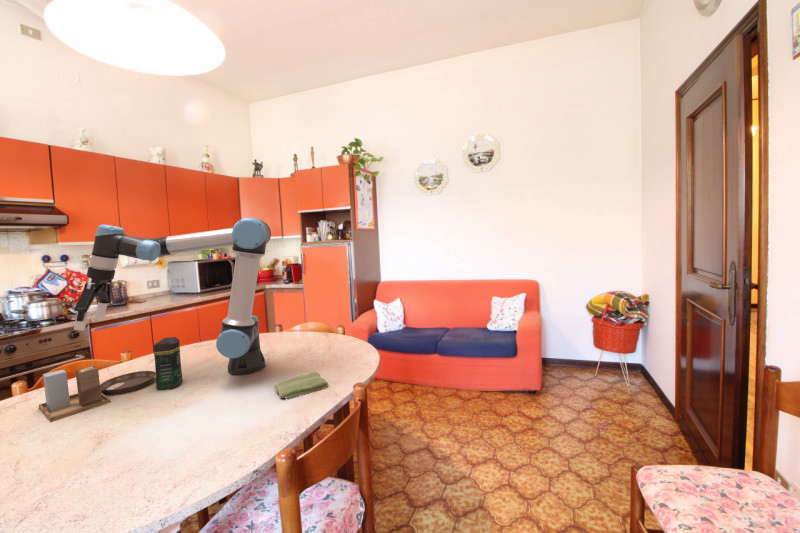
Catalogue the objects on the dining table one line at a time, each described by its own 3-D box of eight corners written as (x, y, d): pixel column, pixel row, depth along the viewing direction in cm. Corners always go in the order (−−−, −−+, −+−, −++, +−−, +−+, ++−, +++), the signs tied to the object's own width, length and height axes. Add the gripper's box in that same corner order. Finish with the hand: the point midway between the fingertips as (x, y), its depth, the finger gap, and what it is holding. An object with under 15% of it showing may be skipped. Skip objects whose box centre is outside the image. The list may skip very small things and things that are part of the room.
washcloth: (272, 389, 129) (271, 381, 129) (318, 377, 139) (317, 369, 138) (281, 402, 118) (280, 393, 118) (330, 389, 128) (329, 380, 127)
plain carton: (70, 405, 120) (66, 371, 119) (50, 411, 116) (45, 377, 115) (66, 402, 122) (62, 369, 121) (47, 408, 118) (42, 374, 117)
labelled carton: (101, 401, 122) (98, 367, 121) (83, 407, 118) (79, 372, 117) (97, 398, 125) (94, 365, 124) (79, 404, 121) (75, 370, 119)
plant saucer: (87, 399, 125) (86, 391, 125) (118, 379, 143) (117, 372, 142) (140, 394, 128) (140, 386, 128) (165, 375, 145) (164, 368, 145)
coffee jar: (178, 388, 131) (173, 341, 130) (153, 392, 129) (149, 343, 127) (185, 379, 141) (181, 334, 139) (163, 382, 138) (158, 336, 137)
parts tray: (110, 403, 121) (110, 399, 121) (51, 422, 109) (50, 418, 109) (95, 392, 131) (95, 388, 131) (39, 408, 119) (38, 404, 118)
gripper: (106, 262, 135) (94, 314, 135) (69, 269, 111) (55, 332, 112) (129, 266, 137) (117, 317, 138) (97, 274, 114) (83, 336, 114)
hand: (89, 324), depth 125 cm, fingers open, 13 cm apart
